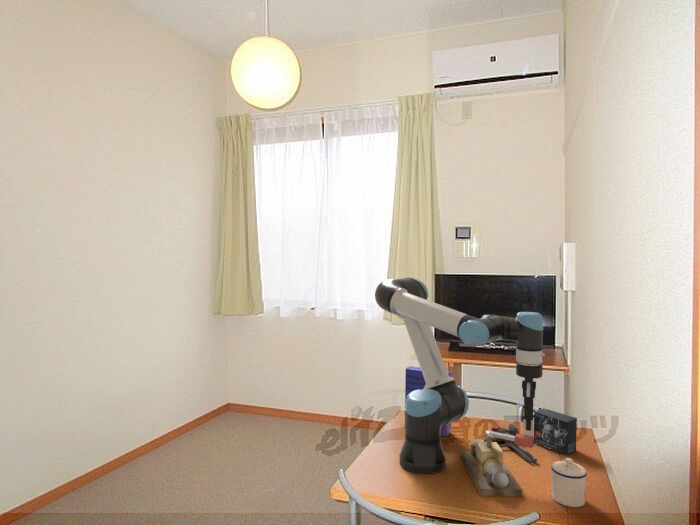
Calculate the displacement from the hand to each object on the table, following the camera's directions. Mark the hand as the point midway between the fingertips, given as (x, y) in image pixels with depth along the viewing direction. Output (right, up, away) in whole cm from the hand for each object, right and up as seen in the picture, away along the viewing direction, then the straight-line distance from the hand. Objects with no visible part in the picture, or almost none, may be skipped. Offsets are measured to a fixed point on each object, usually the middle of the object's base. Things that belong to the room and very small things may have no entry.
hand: (528, 439), depth 143 cm
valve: (+2, -13, +25) cm, 28 cm away
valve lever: (-6, -1, +1) cm, 6 cm away
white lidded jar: (+7, -13, -9) cm, 18 cm away
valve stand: (-11, -13, +4) cm, 17 cm away
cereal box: (-24, -12, +41) cm, 50 cm away
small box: (+20, -13, +26) cm, 35 cm away
